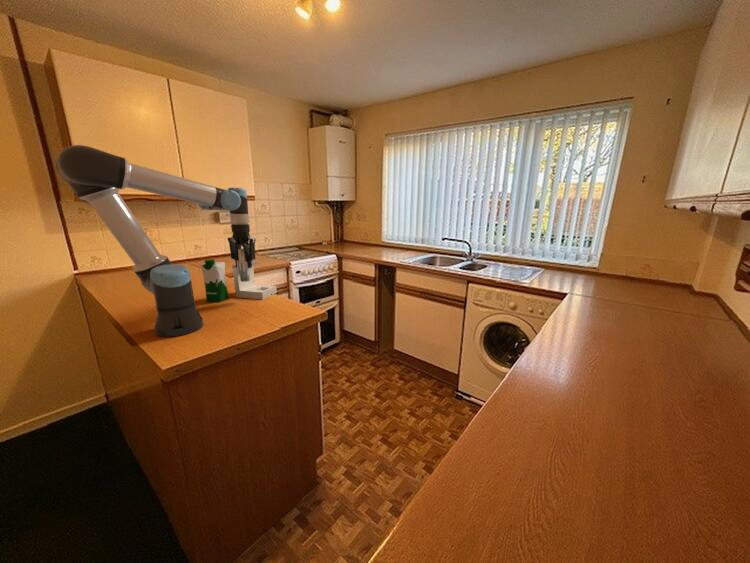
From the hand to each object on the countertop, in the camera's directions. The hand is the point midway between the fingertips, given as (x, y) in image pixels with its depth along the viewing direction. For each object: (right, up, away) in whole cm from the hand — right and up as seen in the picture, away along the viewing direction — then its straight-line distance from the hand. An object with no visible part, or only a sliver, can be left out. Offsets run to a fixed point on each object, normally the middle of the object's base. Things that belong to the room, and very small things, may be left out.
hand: (244, 274), depth 139 cm
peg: (0, -3, +1) cm, 3 cm away
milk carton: (-16, -12, +6) cm, 21 cm away
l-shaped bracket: (0, -10, +14) cm, 17 cm away
